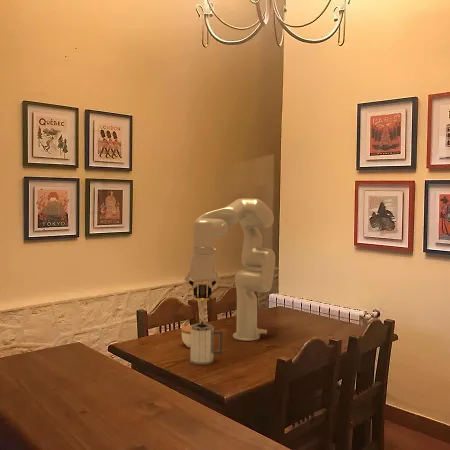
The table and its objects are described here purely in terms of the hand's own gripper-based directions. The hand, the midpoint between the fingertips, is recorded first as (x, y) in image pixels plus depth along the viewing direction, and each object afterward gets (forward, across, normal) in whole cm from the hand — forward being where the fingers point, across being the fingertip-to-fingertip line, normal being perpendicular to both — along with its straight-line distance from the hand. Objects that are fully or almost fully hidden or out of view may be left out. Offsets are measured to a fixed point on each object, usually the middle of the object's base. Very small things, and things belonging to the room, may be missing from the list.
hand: (202, 296), depth 198 cm
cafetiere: (+26, -2, 0) cm, 26 cm away
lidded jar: (+26, +3, -21) cm, 34 cm away
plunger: (+16, 0, 0) cm, 16 cm away
